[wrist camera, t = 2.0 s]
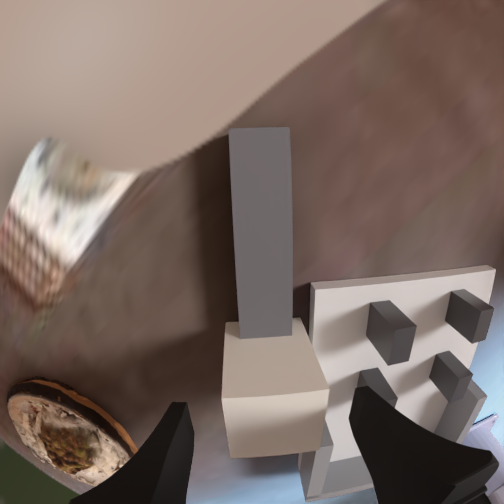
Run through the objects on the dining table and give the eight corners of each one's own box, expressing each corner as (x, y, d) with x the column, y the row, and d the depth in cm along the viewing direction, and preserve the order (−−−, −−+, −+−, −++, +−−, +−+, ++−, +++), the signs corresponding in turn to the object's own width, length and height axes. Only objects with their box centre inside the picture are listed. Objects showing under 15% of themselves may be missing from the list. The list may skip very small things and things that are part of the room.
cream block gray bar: (298, 374, 17) (319, 450, 11) (231, 379, 17) (230, 458, 11) (298, 132, 14) (339, 109, 8) (213, 134, 13) (196, 111, 8)
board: (434, 430, 20) (452, 458, 16) (297, 463, 20) (305, 501, 16) (486, 264, 16) (525, 284, 12) (310, 282, 16) (332, 317, 12)
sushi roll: (1, 325, 16) (-31, 352, 12) (179, 417, 18) (172, 462, 14) (11, 429, 19) (-5, 454, 15) (139, 492, 22) (133, 523, 18)
